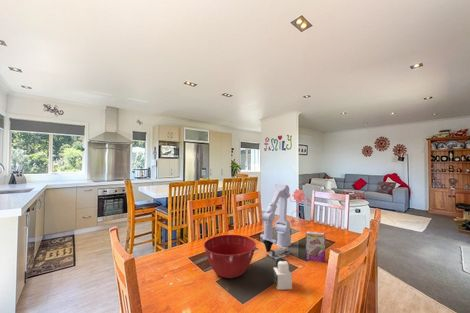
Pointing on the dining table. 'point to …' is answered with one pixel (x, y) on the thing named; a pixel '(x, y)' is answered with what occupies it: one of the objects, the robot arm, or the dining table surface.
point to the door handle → (279, 251)
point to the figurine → (298, 196)
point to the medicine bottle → (282, 275)
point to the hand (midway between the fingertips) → (268, 251)
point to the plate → (274, 258)
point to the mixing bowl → (229, 254)
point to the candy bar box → (315, 246)
